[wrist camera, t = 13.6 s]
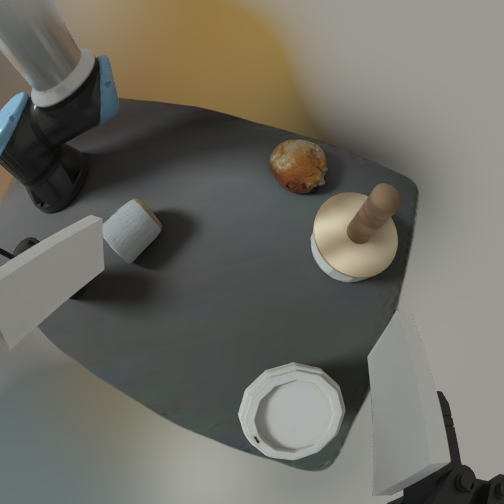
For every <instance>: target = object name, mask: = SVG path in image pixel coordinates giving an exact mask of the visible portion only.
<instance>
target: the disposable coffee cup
mask: <svg viewBox="0 0 504 504" xmlns="http://www.w3.org/2000/svg"><path fill="white" fill-rule="evenodd" d="M345 411H346V410H345V406H344V402H343V398H342V394H341V390H340V387H339V385H338V384H337V383H336V382H335V381H334V380H333V379H332V378H330V377H329V376H328V375H327V374H326V373H325V372H324V371H323V370H322V369H321V368H318V367H313V366H308V365H303V364H299V363H294V362H293V363H290V364H286V365H283V366H279V367H276V368H272V369H268V370H266V371H265V372H264V373H262V374H261V375H260V376H259V377H258V378H257V379H256V380H255V381H254V382H253V383H252V384H251V385H250V386H249V387H247V388H246V389H245V393H244V396H243V400H242V403H241V406H240V410H239V413H238V415H239V419H240V422H241V425H242V428H243V431H244V434H245V436H246V437H247V439H248V440H249V442H250V443H251V444H252V445H253V446H255V447H256V448H257V449H258V450H260V451H261V452H262V453H263V454H265V455H266V456H269V457H273V458H280V459H288V460H296V459H299V458H302V457H305V456H308V455H311V454H314V453H317V452H319V451H320V450H321V449H322V448H323V447H324V446H326V445H327V444H328V443H329V442H330V441H331V440H332V439H333V438H334V437H335V436H336V435H337V434H338V432H339V429H340V426H341V423H342V420H343V417H344V414H345Z"/></svg>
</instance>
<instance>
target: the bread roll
mask: <svg viewBox="0 0 504 504" xmlns="http://www.w3.org/2000/svg"><path fill="white" fill-rule="evenodd" d="M270 170H271V172H272V174H273V176H274V178H276V180H277V182H278V183H279V184H280V185H281V186H282V187H283V188H285V189H286V190H288V191H291V192H293V193H300V194H303V193H308V192H317V188H318V186H322V185H324V183H325V181H324V176H325V174H326V173H327V171H328V169H327V160H326V156H325V153H324V151H323V150H322V149H321V147H320V146H319V145H317V144H315V143H313V142H310V141H307V140H301V139H297V140H287V141H284V142H282V143H280V144H279V145H277V146H276V147H275V149H274V150H273V152H272V153H271V156H270Z"/></svg>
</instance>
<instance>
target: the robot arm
mask: <svg viewBox="0 0 504 504" xmlns="http://www.w3.org/2000/svg"><path fill="white" fill-rule="evenodd" d="M0 50H1V51H2V53H3V54H4V55H5V56H6V57H7V58H8V60H9V61H10V62H11V63H12V64H13V66H14V67H15V68H16V69H17V70H18V71H19V72H20V73H21V75H22V76H23V77H24V78H25V79H26V80H27V81H28V83H29V84H30V85H31V86H32V87H33V89H32V93H31V97H29V95H28V94H27V93H26V92H21V93H18V94H17V95H15V96H14V97H13V98H12V99H11V100H10V101H9V102H8V103H7V104H6V105H5V106H4V107H3V108H2V110H1V111H0V164H1V165H2V166H3V167H4V168H5V169H6V170H7V171H8V172H10V173H11V174H12V175H13V176H14V177H15V178H16V179H17V180H19V181H20V182H21V183H22V184H23V185H24V186H25V188H26V190H27V192H28V194H29V196H30V197H31V199H32V201H33V203H34V205H35V206H36V207H37V208H39V209H40V210H41V211H43V212H45V213H54V212H57V211H59V210H61V209H63V208H64V207H66V206H67V205H68V204H69V203H70V202H71V201H72V200H73V199H74V198H75V197H76V196H77V194H78V193H79V192H80V190H81V188H82V187H83V185H84V182H85V180H86V177H87V173H88V163H87V160H86V159H85V157H84V156H83V155H82V153H81V152H80V151H78V150H77V149H75V148H73V147H71V146H69V145H67V144H65V143H66V142H67V141H69V140H71V139H73V138H75V137H77V136H78V135H80V134H82V133H84V132H86V131H88V130H90V129H92V128H94V127H96V126H98V125H101V124H102V123H103V122H105V121H107V120H108V119H110V118H112V117H114V116H115V115H116V114H117V112H118V110H119V101H118V96H117V91H116V86H115V82H114V77H113V73H112V69H111V65H110V62H109V58H108V57H107V56H106V55H102V56H98V57H97V58H96V57H95V55H94V54H93V52H92V51H91V50H89V49H86V48H78V46H77V45H76V43H75V41H74V39H73V37H72V36H71V34H70V32H69V30H68V28H67V27H66V25H65V23H64V21H63V19H62V17H61V15H60V13H59V12H58V10H57V8H56V6H55V4H54V2H53V0H0ZM103 270H104V256H103V233H102V218H99V217H96V216H93V215H89V216H87V217H86V218H84V219H82V220H80V221H78V222H76V223H74V224H72V225H70V226H68V227H66V228H64V229H63V230H61V231H59V232H57V233H55V234H53V235H52V236H50V237H48V238H46V239H45V240H43V241H41V242H39V243H38V244H36V245H34V246H33V247H31V248H29V249H28V250H26V251H24V252H23V253H21V254H19V255H17V256H15V257H14V258H12V259H11V260H9V261H8V262H7V263H4V264H3V265H1V267H0V340H1V342H2V343H3V344H4V345H5V346H6V347H7V348H8V349H9V350H10V351H11V350H12V349H13V348H14V347H15V346H16V345H17V344H18V343H19V342H20V341H21V340H22V339H23V338H24V337H25V336H27V335H28V334H29V333H30V332H31V331H32V330H33V329H34V328H35V327H37V326H38V325H39V324H40V323H41V322H42V321H43V320H44V319H45V318H47V317H48V316H49V315H50V314H51V313H52V312H53V311H55V310H56V309H57V308H58V307H59V306H60V305H62V304H63V303H64V302H65V301H66V300H68V299H69V298H70V297H71V296H72V295H74V294H75V293H76V292H77V291H78V290H80V289H81V288H82V287H83V286H85V285H86V284H87V283H88V282H89V281H91V280H92V279H93V278H94V277H96V276H97V275H98V274H100V273H101V272H102V271H103ZM367 358H368V367H369V378H370V389H371V403H372V420H373V496H377V495H378V496H380V495H393V494H395V493H397V492H399V491H401V490H403V495H404V496H402V497H400V498H398V499H396V500H393V501H391V502H389V503H387V504H504V475H501V474H499V475H497V476H495V477H494V478H492V479H491V480H489V481H484V480H480V479H476V477H475V474H474V472H473V471H472V470H471V468H470V467H468V466H466V465H462V464H461V460H460V454H459V448H458V443H457V438H456V433H455V428H454V427H453V425H454V424H453V419H452V418H451V411H450V407H449V403H448V401H447V400H446V398H445V396H444V395H443V393H442V392H440V391H436V387H435V384H434V380H433V377H432V373H431V370H430V366H429V363H428V360H427V357H426V353H425V350H424V348H423V344H422V342H421V338H420V336H419V333H418V330H417V327H416V324H415V322H414V319H413V316H412V314H409V313H406V312H402V311H399V310H397V311H396V312H395V314H394V316H393V317H392V319H391V321H390V322H389V324H388V326H387V327H386V329H385V330H384V332H383V334H382V335H381V337H380V338H379V340H378V341H377V343H376V345H375V346H374V348H373V349H372V351H371V352H370V354H369V355H368V357H367Z"/></svg>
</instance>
